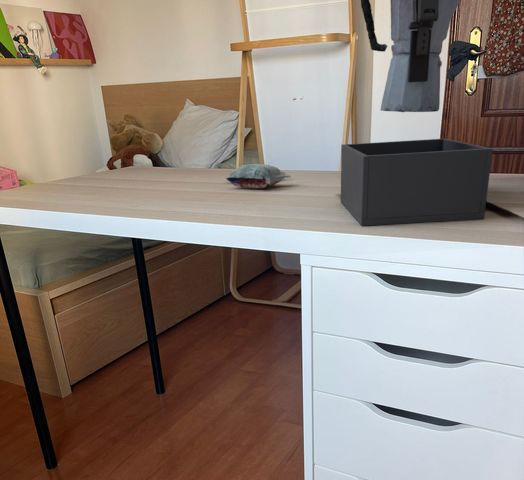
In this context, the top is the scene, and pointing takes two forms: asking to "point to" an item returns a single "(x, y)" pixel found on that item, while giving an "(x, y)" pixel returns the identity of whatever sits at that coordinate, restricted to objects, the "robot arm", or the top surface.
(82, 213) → the top surface
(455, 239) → the top surface
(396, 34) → the moka pot
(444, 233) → the top surface
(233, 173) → the packaged food
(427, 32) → the robot arm
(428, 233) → the top surface
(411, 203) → the tub
